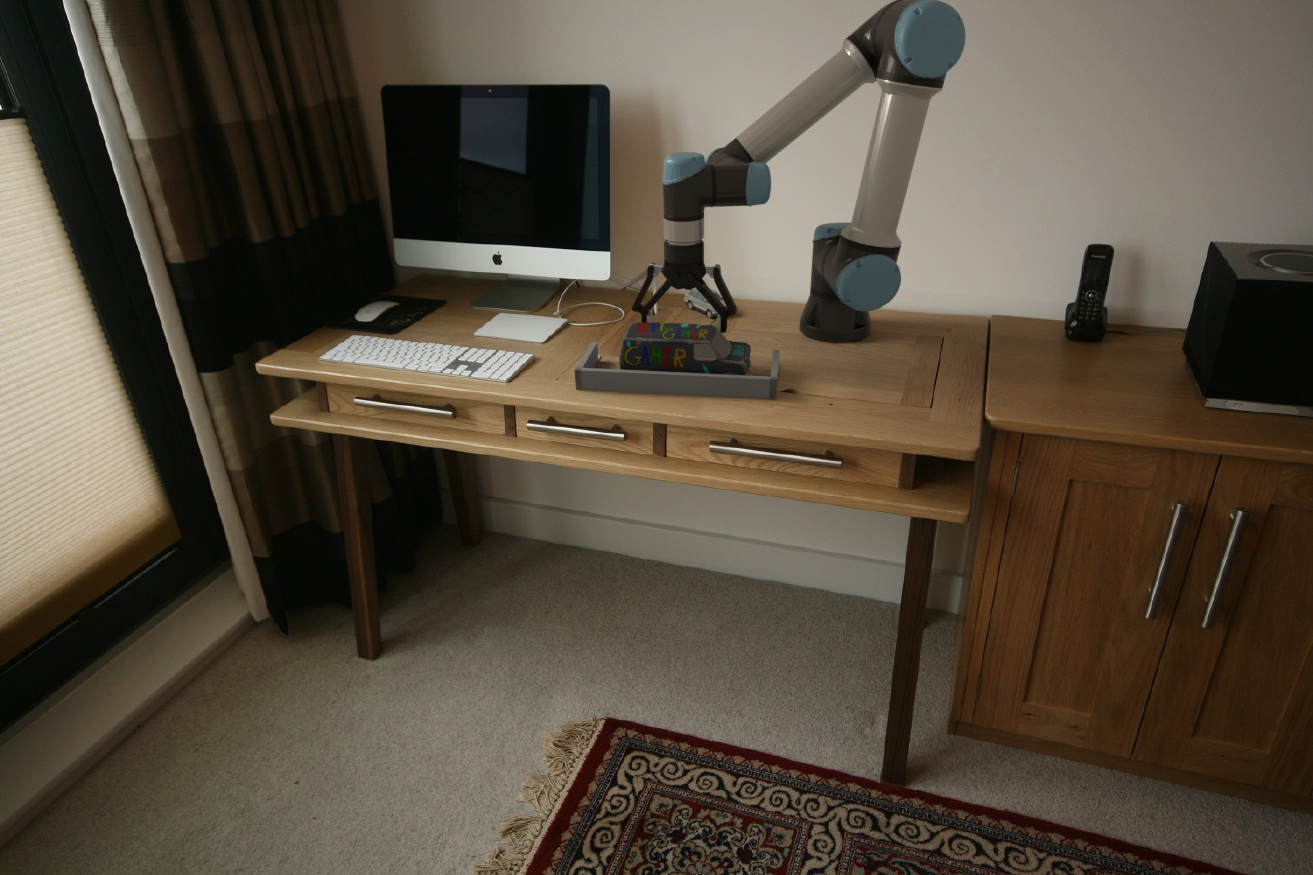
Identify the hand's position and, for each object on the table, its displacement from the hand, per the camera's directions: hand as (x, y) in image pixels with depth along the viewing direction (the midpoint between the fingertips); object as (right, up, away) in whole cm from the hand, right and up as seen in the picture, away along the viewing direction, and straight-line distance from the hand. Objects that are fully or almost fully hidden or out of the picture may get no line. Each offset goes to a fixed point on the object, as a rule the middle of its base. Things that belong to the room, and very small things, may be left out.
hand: (684, 346), depth 172 cm
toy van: (0, -7, -4) cm, 8 cm away
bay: (-1, -6, -4) cm, 8 cm away
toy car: (+6, +11, +29) cm, 32 cm away
